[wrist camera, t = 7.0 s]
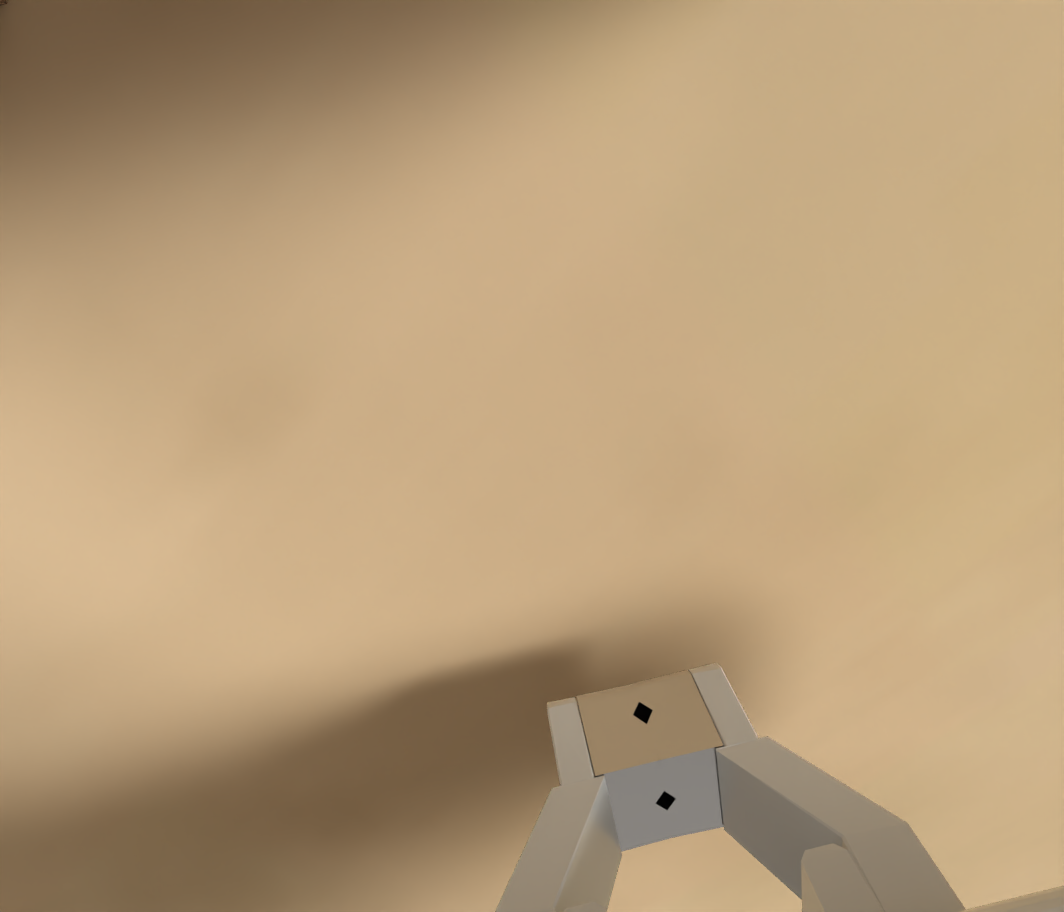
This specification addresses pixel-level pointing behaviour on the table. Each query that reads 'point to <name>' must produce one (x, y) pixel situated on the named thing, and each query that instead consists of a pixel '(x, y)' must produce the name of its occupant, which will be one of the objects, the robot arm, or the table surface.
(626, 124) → the table surface
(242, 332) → the table surface
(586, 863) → the robot arm
